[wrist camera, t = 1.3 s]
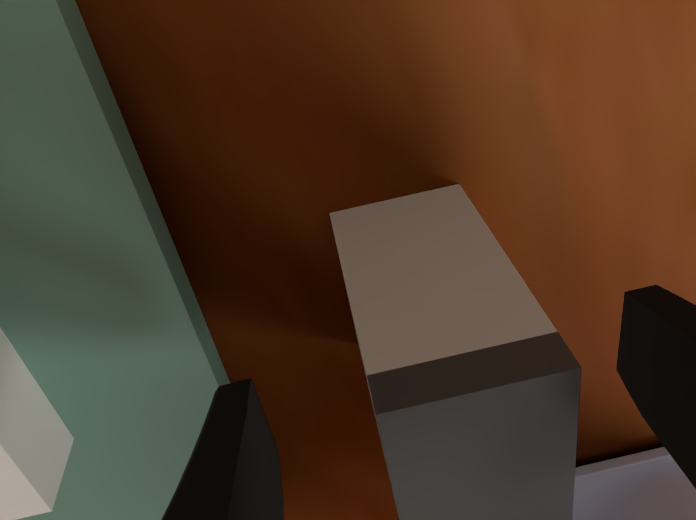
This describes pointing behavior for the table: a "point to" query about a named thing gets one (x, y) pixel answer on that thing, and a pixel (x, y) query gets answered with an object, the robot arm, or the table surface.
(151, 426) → the socket board
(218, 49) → the table surface
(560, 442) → the plug
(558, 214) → the table surface
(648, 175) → the table surface
